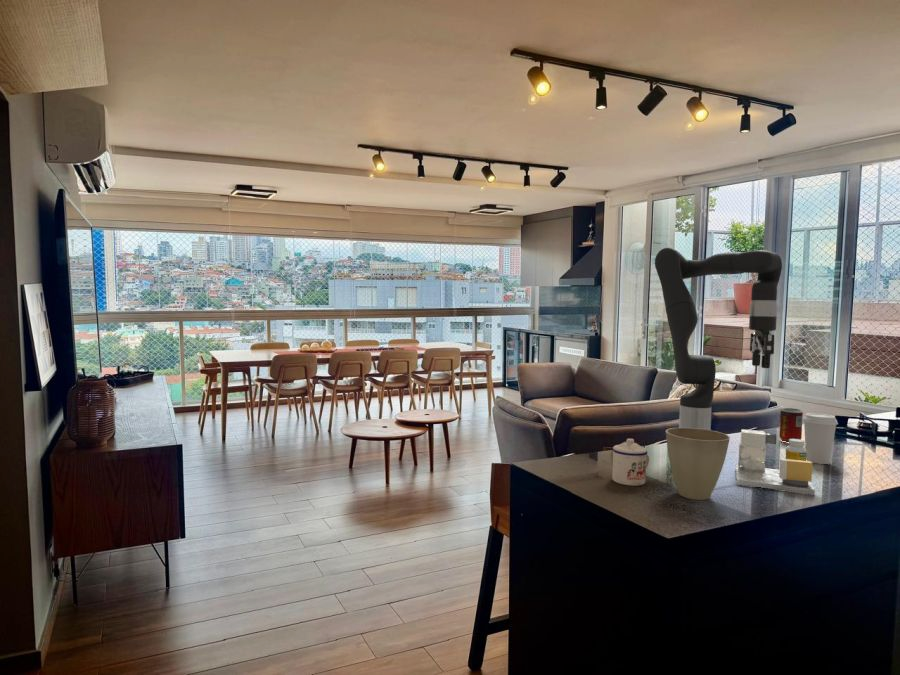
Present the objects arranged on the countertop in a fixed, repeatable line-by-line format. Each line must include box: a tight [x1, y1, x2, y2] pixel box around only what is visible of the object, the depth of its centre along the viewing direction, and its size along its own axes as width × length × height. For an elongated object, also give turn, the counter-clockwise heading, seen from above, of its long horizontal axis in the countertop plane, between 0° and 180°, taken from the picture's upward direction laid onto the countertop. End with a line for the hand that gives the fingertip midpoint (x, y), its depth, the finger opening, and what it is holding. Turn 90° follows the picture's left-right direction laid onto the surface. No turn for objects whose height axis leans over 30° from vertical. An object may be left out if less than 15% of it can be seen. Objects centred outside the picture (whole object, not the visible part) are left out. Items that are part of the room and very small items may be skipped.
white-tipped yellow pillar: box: [779, 458, 813, 486], centre depth 157 cm, size 7×6×6 cm
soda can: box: [778, 407, 804, 442], centre depth 216 cm, size 7×7×12 cm
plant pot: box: [665, 427, 731, 501], centre depth 149 cm, size 15×15×16 cm
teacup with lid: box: [612, 438, 650, 487], centre depth 161 cm, size 12×9×12 cm
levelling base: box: [735, 428, 816, 496], centre depth 163 cm, size 18×18×12 cm
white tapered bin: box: [802, 412, 839, 465], centre depth 187 cm, size 10×10×15 cm
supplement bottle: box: [785, 439, 807, 461], centre depth 174 cm, size 5×5×10 cm
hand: (760, 366), depth 184 cm, fingers open, 8 cm apart
